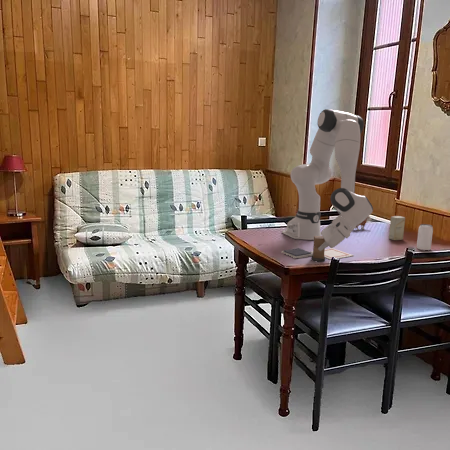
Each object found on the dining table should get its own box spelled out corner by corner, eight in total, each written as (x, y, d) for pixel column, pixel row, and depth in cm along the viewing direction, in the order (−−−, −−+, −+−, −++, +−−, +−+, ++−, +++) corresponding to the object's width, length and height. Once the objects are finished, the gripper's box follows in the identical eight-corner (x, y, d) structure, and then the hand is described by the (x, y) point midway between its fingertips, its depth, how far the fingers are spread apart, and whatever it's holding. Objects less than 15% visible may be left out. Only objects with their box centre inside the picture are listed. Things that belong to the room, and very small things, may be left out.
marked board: (310, 252, 222) (310, 251, 222) (332, 248, 230) (332, 247, 229) (331, 260, 211) (331, 259, 211) (353, 256, 218) (353, 255, 218)
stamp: (310, 257, 214) (312, 235, 212) (324, 258, 213) (325, 235, 211) (312, 261, 208) (313, 238, 206) (325, 262, 208) (327, 239, 205)
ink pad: (281, 253, 220) (281, 250, 220) (298, 250, 225) (298, 247, 225) (295, 259, 211) (295, 255, 211) (313, 256, 217) (313, 252, 216)
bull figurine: (371, 229, 273) (373, 215, 272) (354, 231, 268) (355, 217, 266) (366, 227, 277) (367, 214, 275) (348, 229, 271) (349, 215, 270)
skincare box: (394, 240, 248) (396, 218, 246) (388, 238, 252) (390, 216, 250) (403, 239, 251) (405, 217, 248) (397, 237, 255) (399, 215, 252)
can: (416, 249, 231) (419, 226, 228) (416, 246, 237) (418, 223, 234) (430, 251, 229) (433, 227, 226) (430, 248, 235) (433, 224, 232)
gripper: (333, 216, 216) (310, 236, 219) (340, 226, 197) (315, 248, 199) (342, 226, 217) (319, 246, 220) (350, 237, 197) (325, 258, 200)
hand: (317, 247), depth 209 cm, fingers open, 7 cm apart
